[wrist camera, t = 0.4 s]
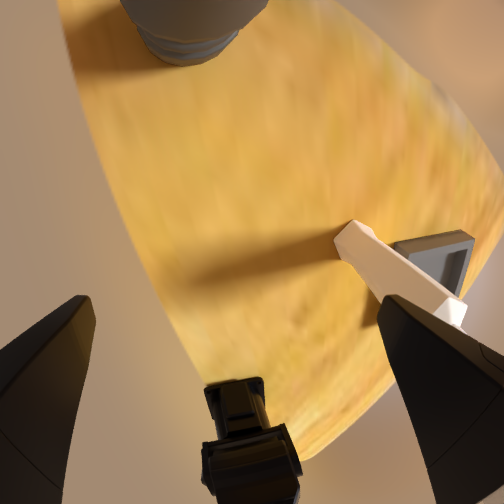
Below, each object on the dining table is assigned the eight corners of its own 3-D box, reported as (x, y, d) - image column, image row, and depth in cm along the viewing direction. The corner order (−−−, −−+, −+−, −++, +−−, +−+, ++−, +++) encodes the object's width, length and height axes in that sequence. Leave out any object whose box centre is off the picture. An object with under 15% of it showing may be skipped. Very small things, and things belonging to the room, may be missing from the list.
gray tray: (441, 301, 35) (453, 312, 33) (379, 321, 33) (390, 335, 31) (461, 229, 30) (475, 238, 28) (394, 242, 28) (409, 254, 26)
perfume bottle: (336, 214, 26) (461, 330, 13) (378, 218, 27) (501, 319, 14) (323, 263, 28) (421, 393, 15) (364, 263, 29) (466, 376, 16)
